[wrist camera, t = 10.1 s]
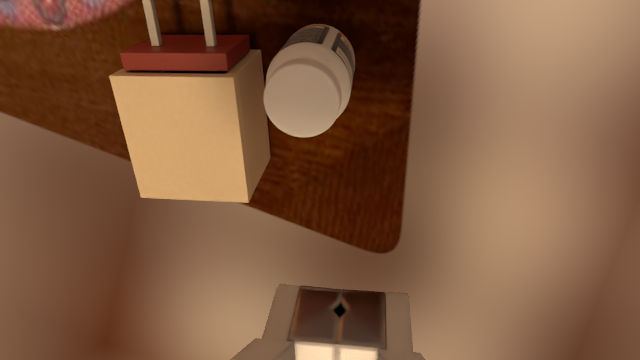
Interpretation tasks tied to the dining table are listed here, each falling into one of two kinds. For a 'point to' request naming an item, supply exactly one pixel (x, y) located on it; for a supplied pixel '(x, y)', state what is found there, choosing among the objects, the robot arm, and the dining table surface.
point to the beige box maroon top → (195, 131)
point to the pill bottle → (309, 81)
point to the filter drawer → (186, 48)
